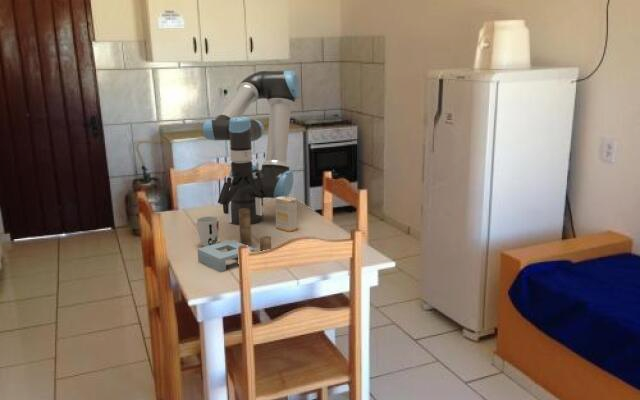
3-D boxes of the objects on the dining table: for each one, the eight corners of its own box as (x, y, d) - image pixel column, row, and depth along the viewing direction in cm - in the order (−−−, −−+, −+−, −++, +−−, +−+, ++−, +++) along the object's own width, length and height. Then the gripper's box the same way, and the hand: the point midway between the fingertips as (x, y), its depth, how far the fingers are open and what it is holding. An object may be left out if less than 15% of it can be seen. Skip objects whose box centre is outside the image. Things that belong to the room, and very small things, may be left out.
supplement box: (298, 229, 226) (297, 198, 223) (289, 232, 223) (288, 200, 219) (284, 225, 231) (283, 195, 228) (275, 228, 228) (274, 197, 225)
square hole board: (198, 261, 193) (197, 248, 192) (231, 251, 202) (231, 239, 201) (220, 271, 183) (220, 258, 182) (255, 260, 192) (254, 248, 191)
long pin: (238, 246, 208) (236, 209, 204) (247, 243, 210) (245, 207, 207) (244, 248, 205) (242, 211, 201) (253, 245, 208) (251, 209, 204)
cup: (209, 249, 204) (207, 223, 202) (193, 246, 208) (191, 220, 206) (224, 243, 211) (223, 218, 208) (208, 240, 215) (206, 215, 212)
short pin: (258, 253, 199) (257, 237, 198) (266, 251, 202) (266, 235, 200) (264, 256, 196) (264, 240, 195) (273, 253, 199) (273, 237, 198)
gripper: (217, 167, 189) (221, 227, 194) (275, 158, 205) (277, 213, 210) (205, 164, 194) (209, 223, 199) (262, 155, 210) (264, 210, 215)
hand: (244, 218), depth 205 cm, fingers open, 13 cm apart
